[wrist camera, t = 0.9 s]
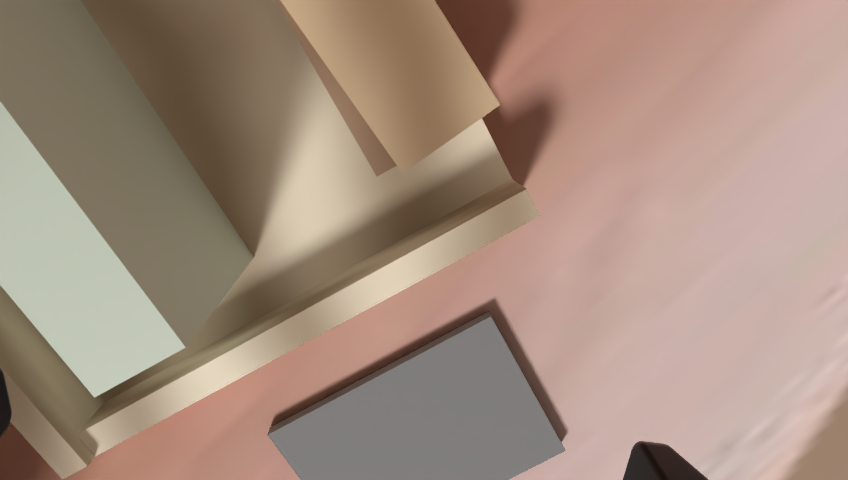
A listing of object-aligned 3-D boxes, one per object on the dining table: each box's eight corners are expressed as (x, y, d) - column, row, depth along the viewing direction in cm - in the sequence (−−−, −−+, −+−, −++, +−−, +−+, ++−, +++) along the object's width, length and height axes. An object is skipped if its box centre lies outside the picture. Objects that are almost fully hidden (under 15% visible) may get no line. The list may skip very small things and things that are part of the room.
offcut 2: (401, 168, 18) (402, 173, 17) (241, -59, 16) (232, -68, 15) (493, 103, 18) (500, 104, 17) (342, -137, 16) (339, -152, 15)
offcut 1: (376, 172, 19) (376, 176, 18) (226, -90, 16) (217, -101, 16) (480, 114, 19) (485, 116, 18) (342, -160, 16) (339, -176, 15)
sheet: (193, 290, 20) (94, 397, 13) (0, 25, 17) (-253, -17, 10) (253, 257, 19) (185, 347, 13) (69, -17, 17) (-142, -87, 10)
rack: (112, 418, 22) (62, 479, 18) (-206, 38, 17) (-347, 27, 14) (517, 198, 21) (544, 219, 17) (283, -268, 16) (257, -361, 13)
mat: (358, 546, 24) (357, 555, 24) (269, 427, 22) (267, 434, 22) (561, 443, 24) (565, 450, 23) (488, 311, 22) (490, 316, 21)
